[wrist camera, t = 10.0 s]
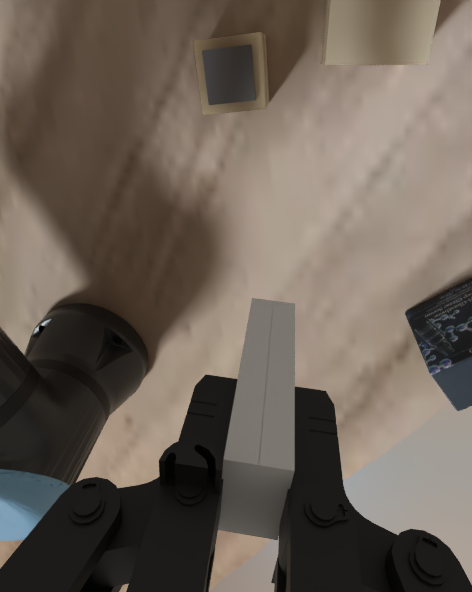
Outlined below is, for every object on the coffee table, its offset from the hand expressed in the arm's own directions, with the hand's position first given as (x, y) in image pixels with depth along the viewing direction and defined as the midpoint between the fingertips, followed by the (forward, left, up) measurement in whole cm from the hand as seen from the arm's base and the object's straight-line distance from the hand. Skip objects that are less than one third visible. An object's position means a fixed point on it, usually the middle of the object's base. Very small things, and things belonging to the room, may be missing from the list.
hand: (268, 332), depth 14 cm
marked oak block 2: (-5, +7, -28) cm, 29 cm away
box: (+20, -14, -28) cm, 37 cm away
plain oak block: (+5, +12, -28) cm, 31 cm away
